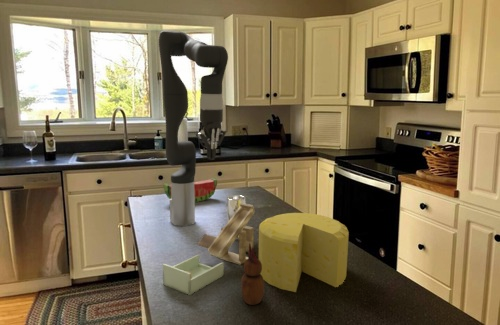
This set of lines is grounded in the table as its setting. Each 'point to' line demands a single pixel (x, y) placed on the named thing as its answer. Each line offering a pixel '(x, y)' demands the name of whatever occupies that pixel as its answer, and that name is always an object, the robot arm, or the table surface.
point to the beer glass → (234, 206)
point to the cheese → (302, 249)
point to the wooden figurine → (252, 280)
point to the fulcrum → (241, 246)
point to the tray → (182, 279)
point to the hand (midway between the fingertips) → (211, 159)
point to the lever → (228, 232)
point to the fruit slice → (198, 189)
